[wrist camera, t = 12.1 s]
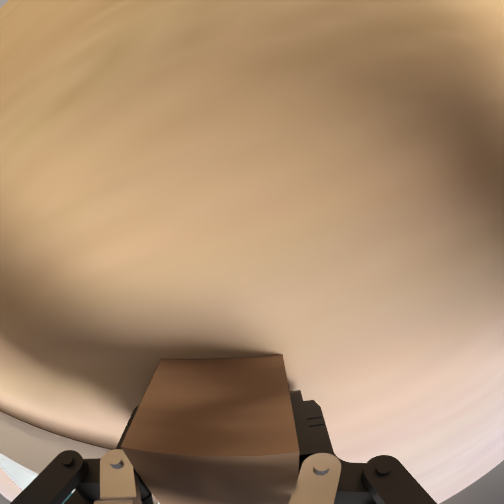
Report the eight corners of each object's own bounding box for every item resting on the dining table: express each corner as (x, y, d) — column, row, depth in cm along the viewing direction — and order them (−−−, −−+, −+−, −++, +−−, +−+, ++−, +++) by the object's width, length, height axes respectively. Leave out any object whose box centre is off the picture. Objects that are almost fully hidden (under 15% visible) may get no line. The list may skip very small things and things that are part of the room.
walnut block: (282, 354, 11) (299, 452, 6) (284, 432, 12) (294, 515, 7) (161, 359, 11) (120, 446, 6) (185, 435, 12) (167, 513, 7)
